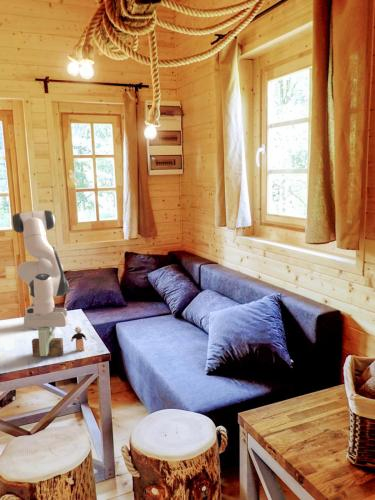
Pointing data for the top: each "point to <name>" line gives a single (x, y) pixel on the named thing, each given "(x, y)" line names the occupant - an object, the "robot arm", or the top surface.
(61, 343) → the wooden u-shaped block
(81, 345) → the grandmother figurine
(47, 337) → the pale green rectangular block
